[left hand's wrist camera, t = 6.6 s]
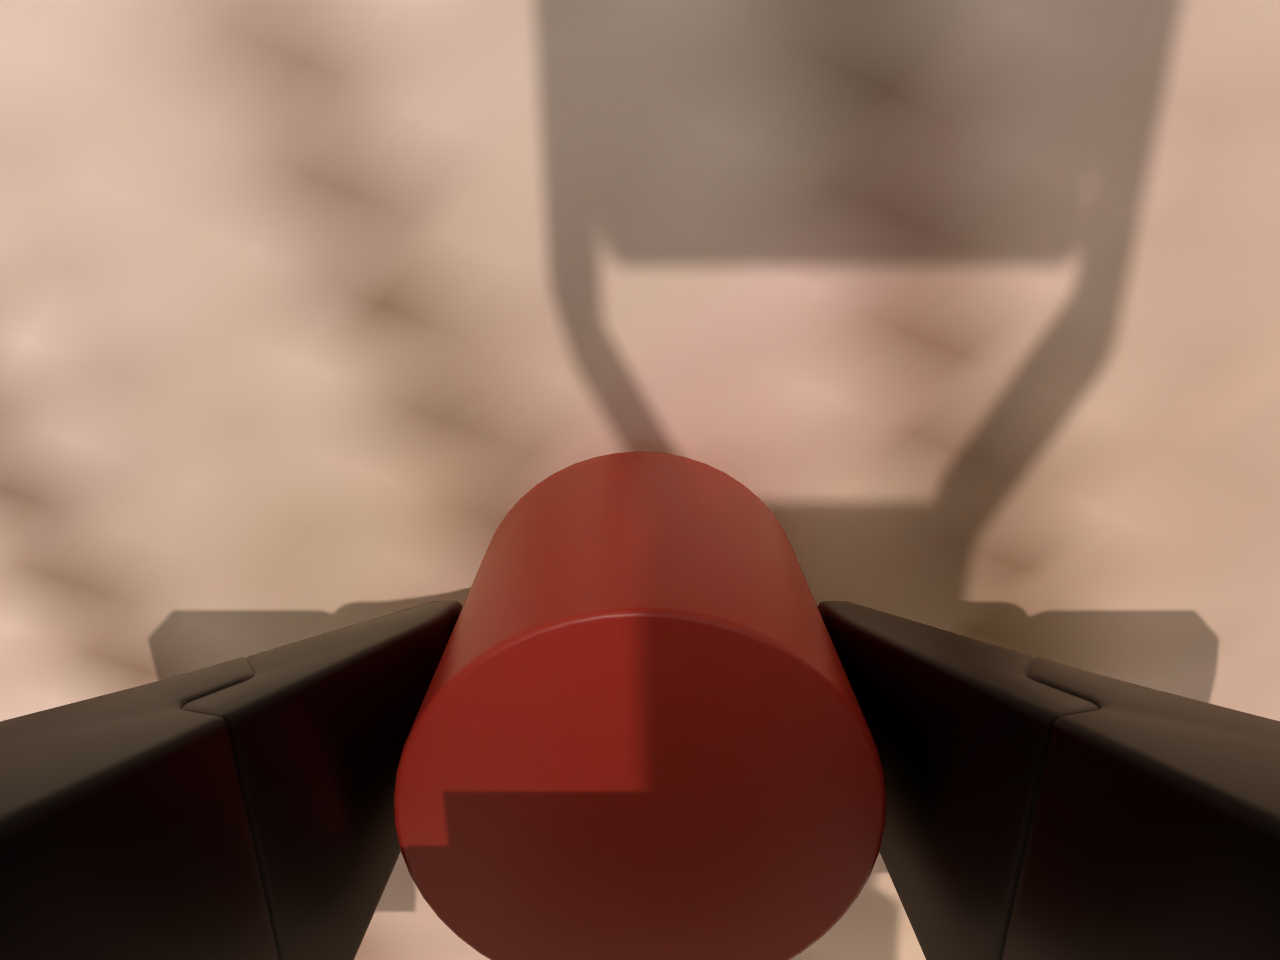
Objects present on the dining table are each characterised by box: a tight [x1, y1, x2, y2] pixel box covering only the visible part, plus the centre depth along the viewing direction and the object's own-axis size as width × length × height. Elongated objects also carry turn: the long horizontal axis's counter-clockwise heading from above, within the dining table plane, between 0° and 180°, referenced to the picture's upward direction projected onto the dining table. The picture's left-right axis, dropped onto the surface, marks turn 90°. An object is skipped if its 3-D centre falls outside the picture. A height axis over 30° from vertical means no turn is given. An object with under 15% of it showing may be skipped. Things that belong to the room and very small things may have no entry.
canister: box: [394, 452, 887, 960], centre depth 10 cm, size 5×5×5 cm
